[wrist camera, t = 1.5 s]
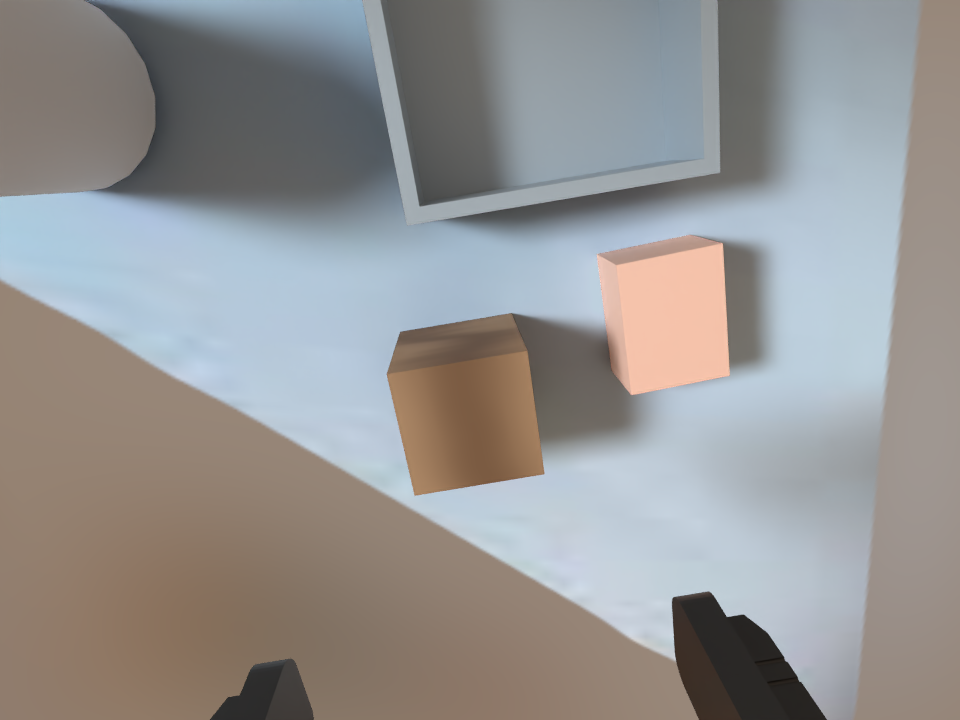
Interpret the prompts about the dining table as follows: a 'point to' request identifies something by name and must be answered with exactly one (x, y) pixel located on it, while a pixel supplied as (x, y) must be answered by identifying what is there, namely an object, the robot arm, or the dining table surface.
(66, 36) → the can
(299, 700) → the robot arm
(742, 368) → the dining table surface
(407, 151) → the tote
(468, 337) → the block
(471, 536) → the dining table surface
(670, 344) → the light box
